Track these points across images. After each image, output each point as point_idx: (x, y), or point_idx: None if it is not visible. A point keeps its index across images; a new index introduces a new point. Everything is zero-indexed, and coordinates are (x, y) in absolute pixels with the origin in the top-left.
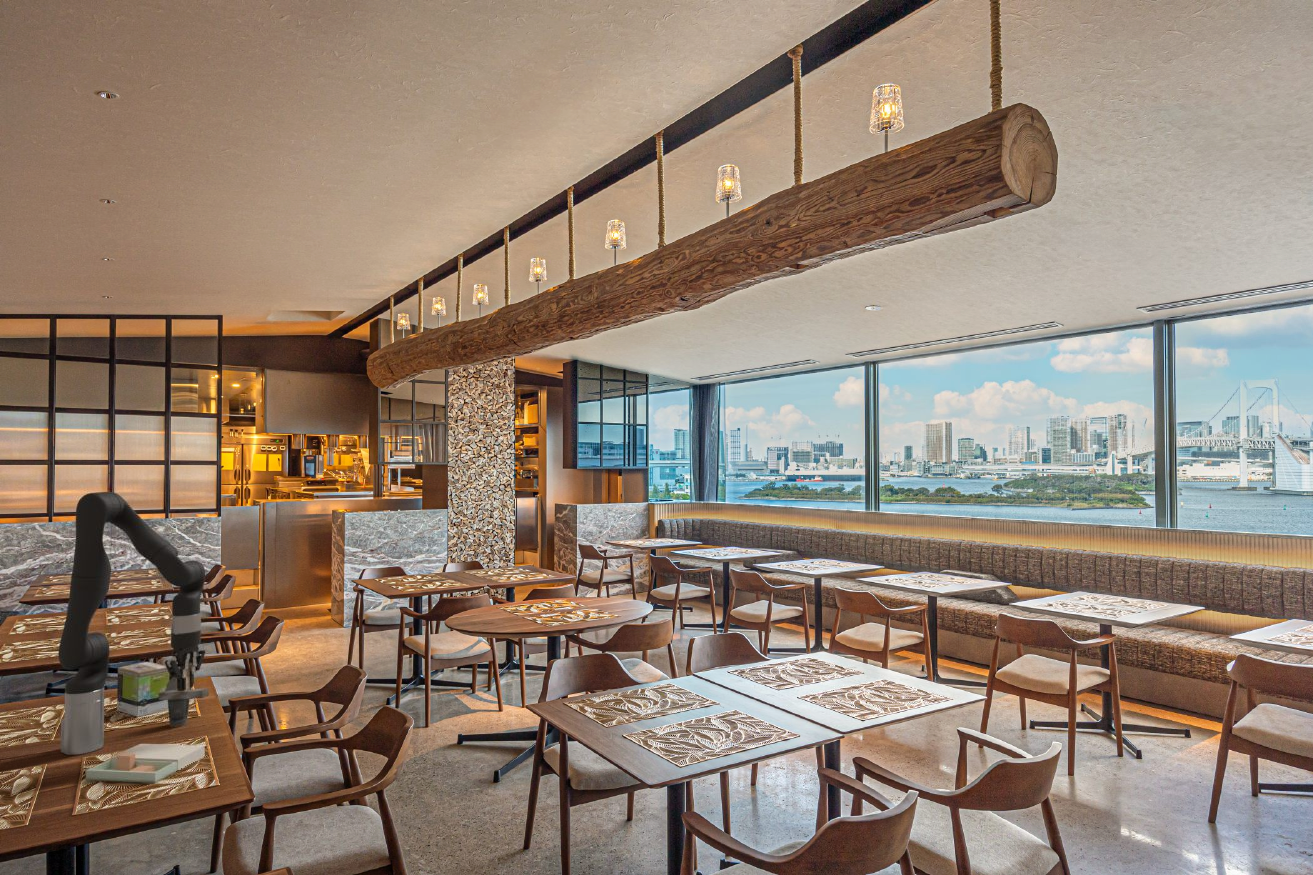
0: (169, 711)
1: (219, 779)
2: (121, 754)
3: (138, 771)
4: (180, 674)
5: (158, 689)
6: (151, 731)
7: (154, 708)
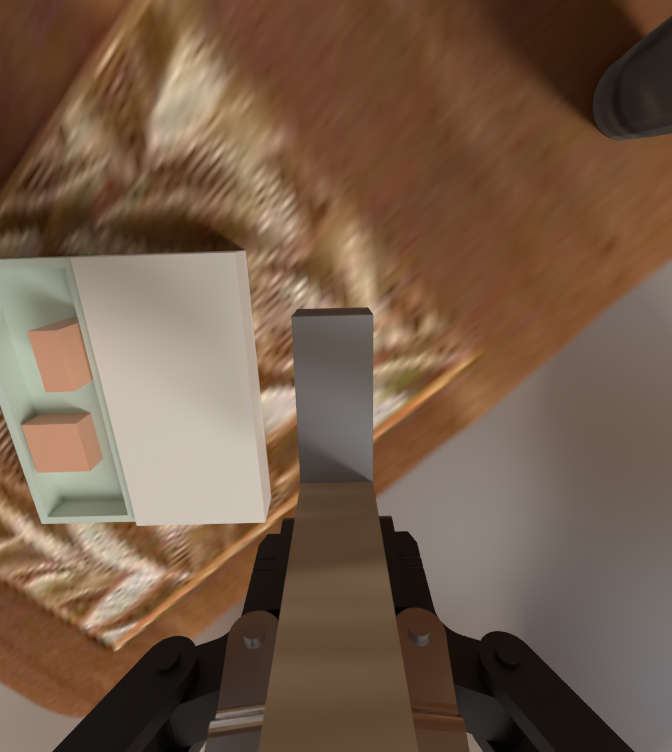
0: (655, 39)
1: (140, 632)
2: (46, 340)
3: (29, 465)
4: (196, 738)
5: None
6: (533, 19)
7: None
